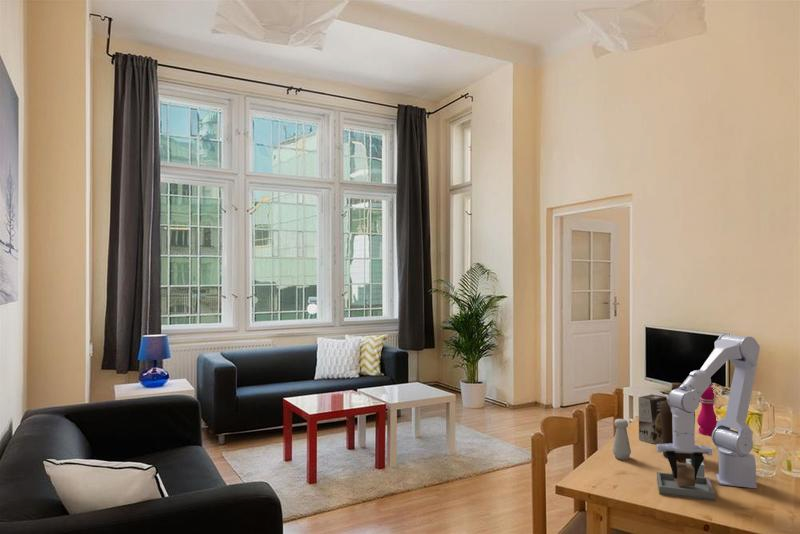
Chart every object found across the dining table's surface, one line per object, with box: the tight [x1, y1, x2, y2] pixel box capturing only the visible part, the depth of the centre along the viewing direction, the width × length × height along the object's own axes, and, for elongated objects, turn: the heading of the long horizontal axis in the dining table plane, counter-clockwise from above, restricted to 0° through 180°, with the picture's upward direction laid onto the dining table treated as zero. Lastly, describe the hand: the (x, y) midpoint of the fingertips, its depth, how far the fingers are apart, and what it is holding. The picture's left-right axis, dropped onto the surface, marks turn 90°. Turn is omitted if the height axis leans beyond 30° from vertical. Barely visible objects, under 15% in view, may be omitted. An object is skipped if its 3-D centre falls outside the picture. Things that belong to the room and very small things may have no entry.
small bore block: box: [674, 462, 695, 486], centre depth 163 cm, size 4×4×5 cm
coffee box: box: [638, 394, 668, 444], centre depth 209 cm, size 9×6×16 cm
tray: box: [656, 471, 716, 502], centre depth 162 cm, size 14×12×2 cm
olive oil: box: [660, 382, 696, 462], centre depth 190 cm, size 11×11×25 cm
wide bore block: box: [685, 459, 706, 477], centre depth 171 cm, size 4×4×5 cm
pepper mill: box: [696, 385, 717, 437], centre depth 216 cm, size 7×7×20 cm
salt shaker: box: [612, 418, 632, 461], centre depth 190 cm, size 6×6×13 cm
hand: (684, 477), depth 162 cm, fingers closed on small bore block, 4 cm apart
